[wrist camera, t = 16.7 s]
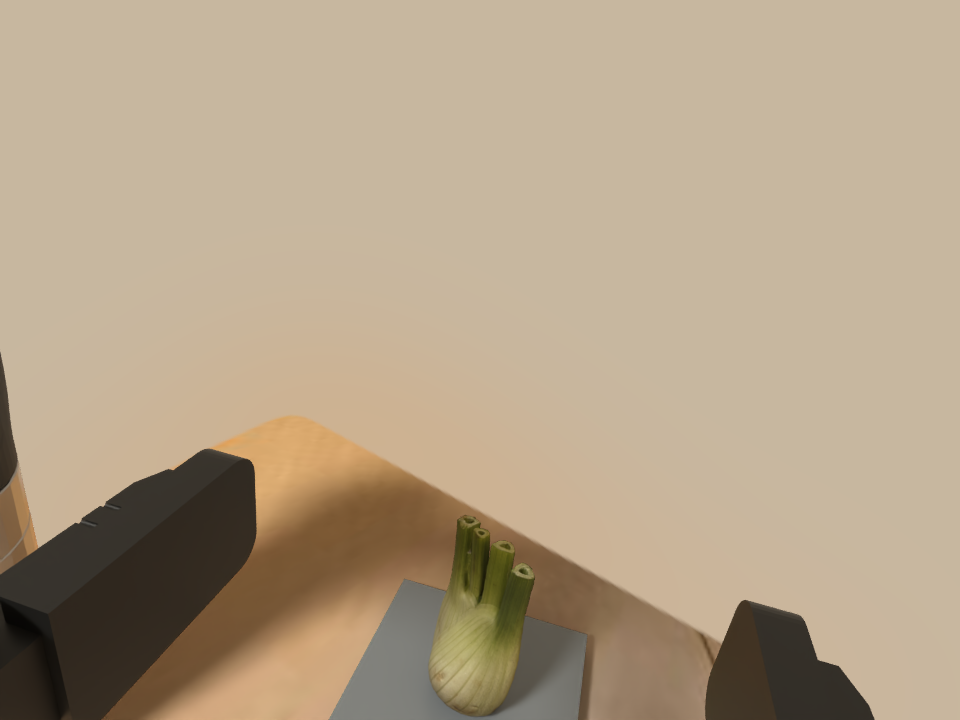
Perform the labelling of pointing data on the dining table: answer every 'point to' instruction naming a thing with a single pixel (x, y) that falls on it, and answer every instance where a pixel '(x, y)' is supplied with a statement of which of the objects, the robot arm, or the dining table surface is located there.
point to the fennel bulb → (479, 623)
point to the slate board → (405, 677)
